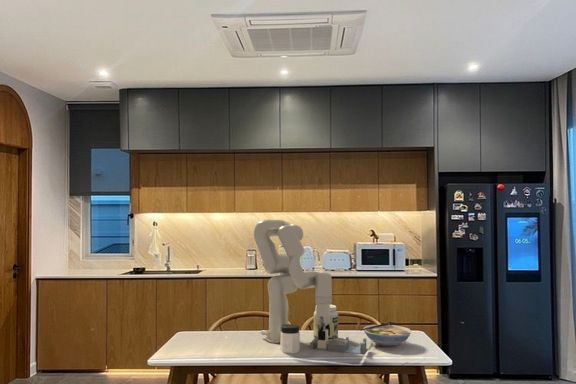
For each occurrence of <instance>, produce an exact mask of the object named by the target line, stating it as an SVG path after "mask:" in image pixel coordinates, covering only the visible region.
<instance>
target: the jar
mask: <svg viewBox="0 0 576 384" xmlns="http://www.w3.org/2000/svg"><path fill="white" fill-rule="evenodd" d="M300 336H301V333H300V326H299V324H295V323H288V324H284V325H282V326H281V338H280V343H279V344H280V346H279V347H280V349H279V350H280V352H281V353H285V354H297V353H299V352H300V349H301V348H300V347H301V345H300V341H301V339H300Z"/></svg>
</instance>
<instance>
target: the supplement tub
mask: <svg viewBox="0 0 576 384" xmlns="http://www.w3.org/2000/svg"><path fill="white" fill-rule="evenodd" d="M316 308H317V304H316V305H315V310H314V312H313V340H314V339H315V338H318V326H317V325H316ZM332 339H339V313H338V311H337V306H336V305H334V304H330V336H328V342H330V341H331V340H332Z"/></svg>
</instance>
